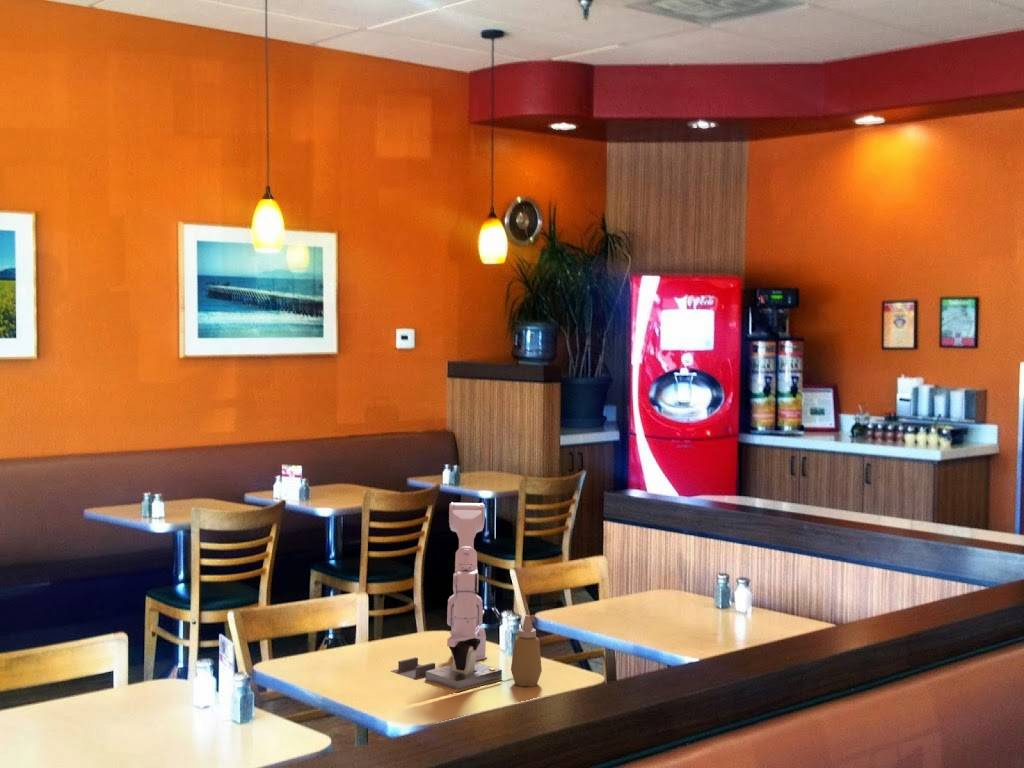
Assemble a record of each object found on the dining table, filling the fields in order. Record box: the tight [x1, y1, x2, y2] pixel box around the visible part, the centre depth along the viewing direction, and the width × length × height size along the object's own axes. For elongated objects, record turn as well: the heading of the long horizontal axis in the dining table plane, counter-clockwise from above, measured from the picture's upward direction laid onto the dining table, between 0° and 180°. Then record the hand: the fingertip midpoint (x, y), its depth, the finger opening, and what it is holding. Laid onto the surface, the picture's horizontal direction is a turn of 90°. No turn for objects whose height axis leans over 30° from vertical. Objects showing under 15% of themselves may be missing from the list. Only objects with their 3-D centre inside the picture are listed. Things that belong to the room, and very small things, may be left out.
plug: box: [451, 646, 477, 675], centre depth 330 cm, size 3×5×7 cm, turn 62°
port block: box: [425, 661, 503, 694], centre depth 330 cm, size 16×12×3 cm
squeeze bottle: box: [510, 615, 543, 687], centre depth 329 cm, size 8×8×18 cm
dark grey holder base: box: [390, 656, 436, 680], centre depth 336 cm, size 10×10×3 cm
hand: (464, 668), depth 330 cm, fingers closed on plug, 3 cm apart
